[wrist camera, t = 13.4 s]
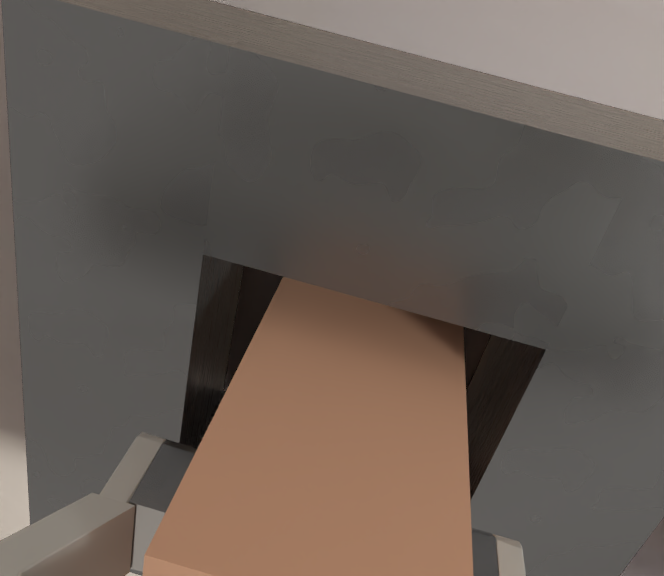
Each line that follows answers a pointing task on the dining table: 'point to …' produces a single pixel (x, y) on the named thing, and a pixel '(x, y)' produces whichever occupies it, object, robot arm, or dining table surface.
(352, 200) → the square hole block
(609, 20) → the dining table surface
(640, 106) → the dining table surface
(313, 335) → the square peg
